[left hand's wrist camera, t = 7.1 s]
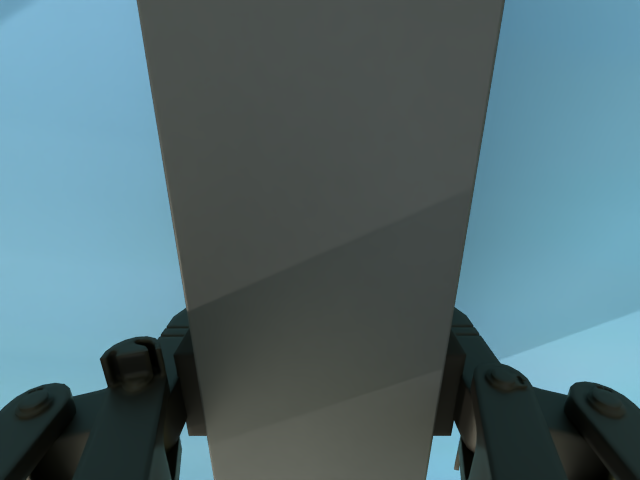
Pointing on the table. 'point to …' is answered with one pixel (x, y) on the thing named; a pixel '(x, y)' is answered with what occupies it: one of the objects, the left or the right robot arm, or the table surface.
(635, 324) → the table surface
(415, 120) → the bar
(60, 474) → the left robot arm
